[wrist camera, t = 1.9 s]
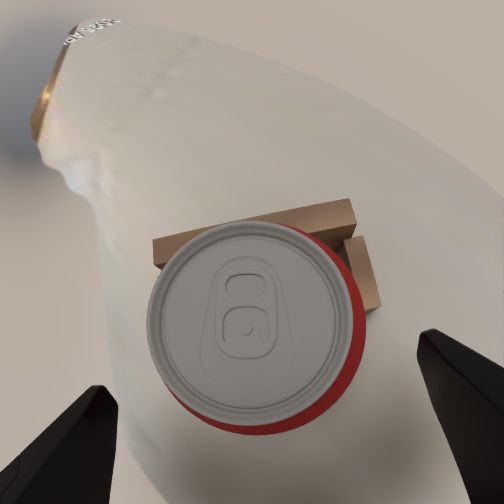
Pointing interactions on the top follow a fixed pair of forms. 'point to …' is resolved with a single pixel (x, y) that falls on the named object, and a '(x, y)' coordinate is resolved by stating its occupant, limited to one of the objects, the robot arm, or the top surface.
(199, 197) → the top surface
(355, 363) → the beverage can
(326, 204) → the can cradle
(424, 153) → the top surface
